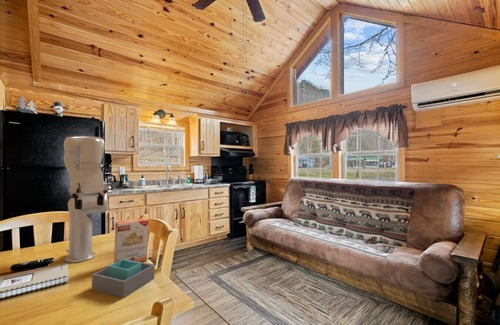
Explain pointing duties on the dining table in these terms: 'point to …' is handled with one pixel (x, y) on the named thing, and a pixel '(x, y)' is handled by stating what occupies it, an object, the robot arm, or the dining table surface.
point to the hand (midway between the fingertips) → (89, 207)
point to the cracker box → (131, 240)
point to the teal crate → (123, 269)
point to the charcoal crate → (122, 281)
